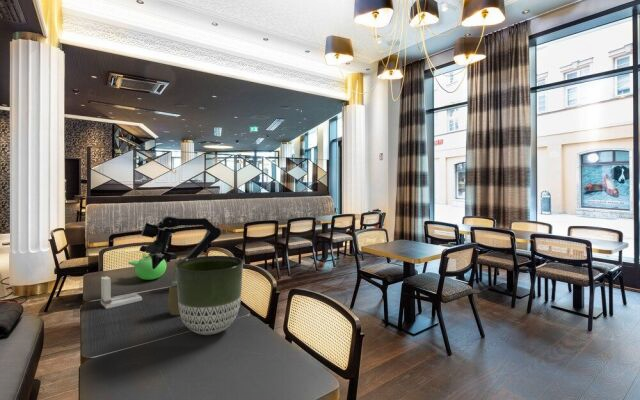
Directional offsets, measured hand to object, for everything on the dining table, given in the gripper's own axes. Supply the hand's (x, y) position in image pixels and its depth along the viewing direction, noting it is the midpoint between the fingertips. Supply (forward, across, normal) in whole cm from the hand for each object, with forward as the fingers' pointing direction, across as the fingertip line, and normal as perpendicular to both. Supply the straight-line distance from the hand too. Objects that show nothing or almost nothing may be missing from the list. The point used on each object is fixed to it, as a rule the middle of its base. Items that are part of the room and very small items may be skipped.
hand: (153, 268), depth 168 cm
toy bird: (+12, -16, +22) cm, 30 cm away
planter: (+8, +53, -32) cm, 63 cm away
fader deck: (+16, -2, -13) cm, 21 cm away
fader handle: (+16, -6, -18) cm, 25 cm away
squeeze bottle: (+11, +31, -19) cm, 38 cm away
